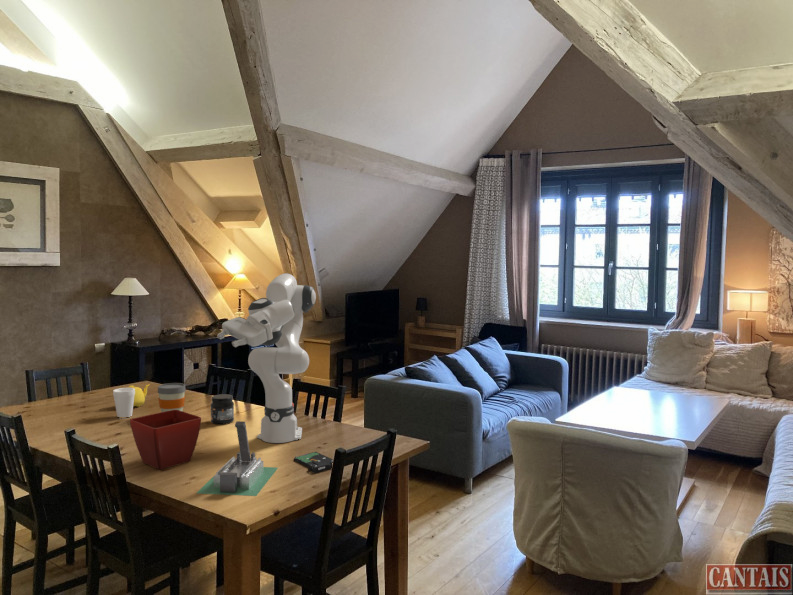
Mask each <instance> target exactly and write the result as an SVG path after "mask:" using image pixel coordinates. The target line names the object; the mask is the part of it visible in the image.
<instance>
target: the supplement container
mask: <svg viewBox="0 0 793 595" xmlns="http://www.w3.org/2000/svg"><path fill="white" fill-rule="evenodd" d="M233 397H234V396H233V395H232V394H226V393H225V394H224V393H223V394H220V393H219V394H215V395H213V396H211V397H210V398H211V402H210V422H211V423H212V424H214V425H226V423H228V424H230V422H231V423H232V422H234V420H235V417H234V416H235V414H234V412H235V411H234V409H235V403H234V398H233Z"/></svg>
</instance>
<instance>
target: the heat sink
mask: <svg viewBox="0 0 793 595" xmlns="http://www.w3.org/2000/svg"><path fill="white" fill-rule="evenodd" d="M250 458H251V461H241V454H240V451H238V452H237V453H236V457H235V456H232V457H231V458H230V459H229V460H228V461H227V462H226V463H224V464H223V466H221V467H220V469H218V470H217V472H216V473H215V474H214V475H213V476H214V488H220V493H236V492H237V489H250V488H251V487H252V485H253V484H254V483H255V482H256V481H257V479H258V478H259V477H260V476H261V475H262V473H263V472H264V468H263V467H264V461H263V460H262V457H259V458H257V457H256V452H251V453H250Z"/></svg>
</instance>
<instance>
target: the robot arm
mask: <svg viewBox="0 0 793 595" xmlns="http://www.w3.org/2000/svg"><path fill="white" fill-rule="evenodd" d="M316 300H317V294H316V290H315V289H314V287H313V286H311V285H308V284H307V285H306V284H305V285H301V284H300V285H299V284H298V283H297V279H296V277H295V276H294V275H292V274H290V273H281V274H279V275H278V276H276V277H274V278H273V279H272V280H271V282H270V283H268V285H267V288H266V291H265V297H260V298H258V299H256V300H253V301H252V302H250V304H249V305H248V308H247V310H248V316H247V317H246V318H245V317H244V318H243V317H241V316H239V317H237V316H236V317H234V318H230V319H229V320H226V321H224V322H223V323H222V324H221V329H222V331H221V332H219V333H218V334H217V336H216V337H217V339H219V340H222V339H225V337H226V336H231V337H233V338H235V339H234V340H233V341H231V345H232V347H234V348H237V347H239V346H245V345H248V346H251V347H258V348H253V349H252V350H251V351H250V352H249V354H248V360H247V361H248V362H247V363H248V366H249V368H250V369H251V371H252V372H254V373H255V374H256V375H257V376H258V377H259V379H260V380H261V382H262V385H263V388H264V393H265V405H264V416H263V417H262V418H261V420H260V421H261V422H260V433H259V434H257V436H256V438H257V439H259V440H261V441H263V442H265V443H268V444H269V443H271V444H282V443H288V442H293V441H298V439H299V440H301V439H302V433H303V427H300V426H298V418H297V417H296V415H295V414H294V413H295V412H294V407H295V406H294V405H295V404H294V402H293V389H292V387H291V385H290V384H289V383H288V382H286V381H285V380H283V379H282V378H281V377H280V374H281V375H283V374H284V375H296V374H301V373H304V372H306V371H307V370H308V368H309V365H310V356H309V354H308V352H307V351H306V350H305V349H304V348H302V347H301V346H300V344H299V343H300V339H301V334H302V330H303V325H304V315H303V313H304V314H307V313H308V312H309V311H310V310H311V309H312V308H314V306H315V303H316ZM260 345H262V346H265V347H259V346H260ZM273 345H275V346H276V347H274V346H273ZM266 346H267V347H266ZM270 346H273V347H270Z"/></svg>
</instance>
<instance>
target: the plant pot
mask: <svg viewBox="0 0 793 595" xmlns="http://www.w3.org/2000/svg"><path fill="white" fill-rule="evenodd" d="M129 423H130V428H131V432H132V436H133V439H134V443H135V445H136V449H137V450H138V454H139V456H140V459H141V460H142V462H143V463H144V464H146V465H149V466H150V467H153V468H155V469H156V470H164V469H167V468H171V467H175V466H178V465H182V464H185V463H188V462H191V460H192V457H193V455H194V452H195V449H196V446H197V442H198V438H199V434H200V430H201V424H202V417H201V416H198V415H195V414H191V413H189V412H185V411H179V410H170V411H165V412H161V411H160V412H156V413H152V414H148V415H142V416H137V417H133V418H130V419H129Z"/></svg>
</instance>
